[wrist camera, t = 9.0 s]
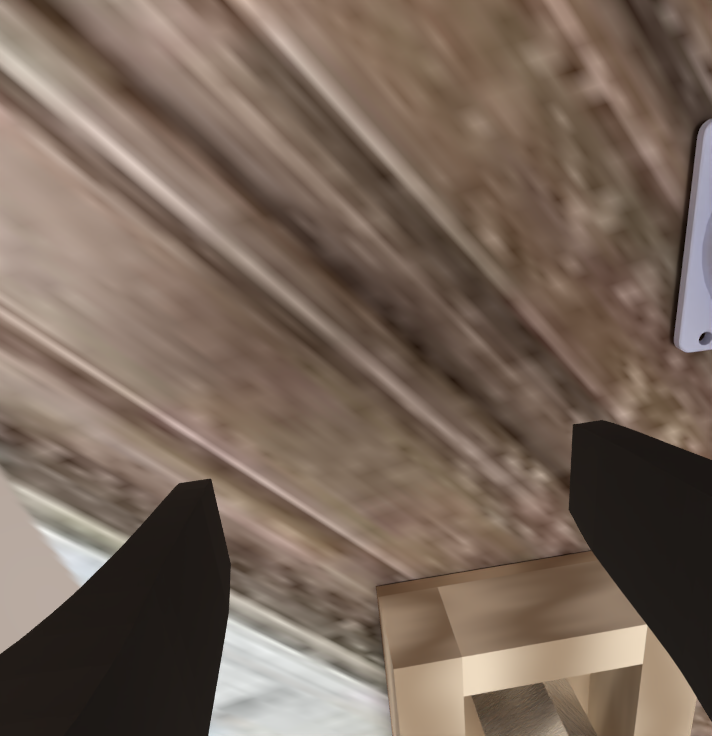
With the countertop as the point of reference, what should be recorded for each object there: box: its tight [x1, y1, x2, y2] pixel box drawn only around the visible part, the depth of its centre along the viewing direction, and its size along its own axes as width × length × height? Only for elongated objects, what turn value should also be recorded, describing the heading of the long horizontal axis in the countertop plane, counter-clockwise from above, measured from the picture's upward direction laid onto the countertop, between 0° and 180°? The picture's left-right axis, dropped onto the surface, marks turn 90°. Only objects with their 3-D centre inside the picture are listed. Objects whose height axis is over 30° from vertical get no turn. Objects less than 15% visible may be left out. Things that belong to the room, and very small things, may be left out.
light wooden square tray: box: [376, 551, 697, 736], centre depth 25 cm, size 12×12×4 cm
